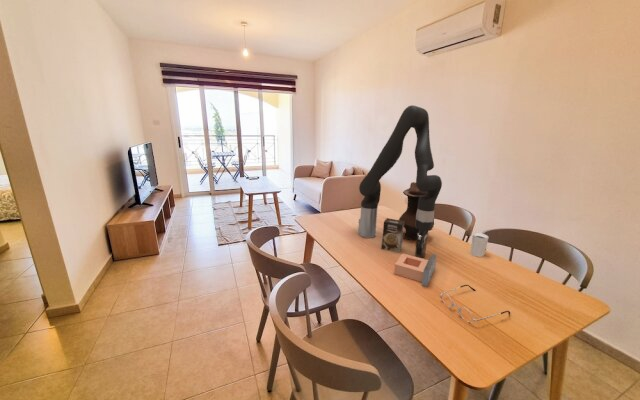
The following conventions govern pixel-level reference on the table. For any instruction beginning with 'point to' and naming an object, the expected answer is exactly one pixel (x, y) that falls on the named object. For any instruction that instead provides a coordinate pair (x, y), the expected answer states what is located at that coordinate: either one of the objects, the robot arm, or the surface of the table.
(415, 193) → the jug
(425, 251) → the dowel
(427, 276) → the rail base
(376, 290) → the table surface
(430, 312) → the table surface
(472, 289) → the eyeglasses
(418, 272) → the holder
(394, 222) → the coffee box
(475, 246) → the drinking glass
